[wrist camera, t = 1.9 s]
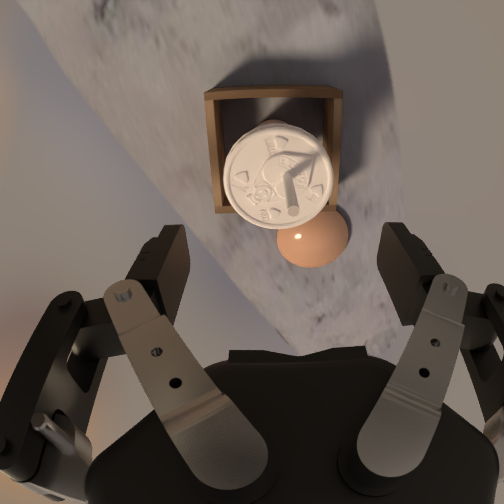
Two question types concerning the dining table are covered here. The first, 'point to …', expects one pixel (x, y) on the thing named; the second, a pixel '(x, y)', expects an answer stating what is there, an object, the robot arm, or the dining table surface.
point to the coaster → (314, 240)
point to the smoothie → (278, 175)
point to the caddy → (214, 96)
